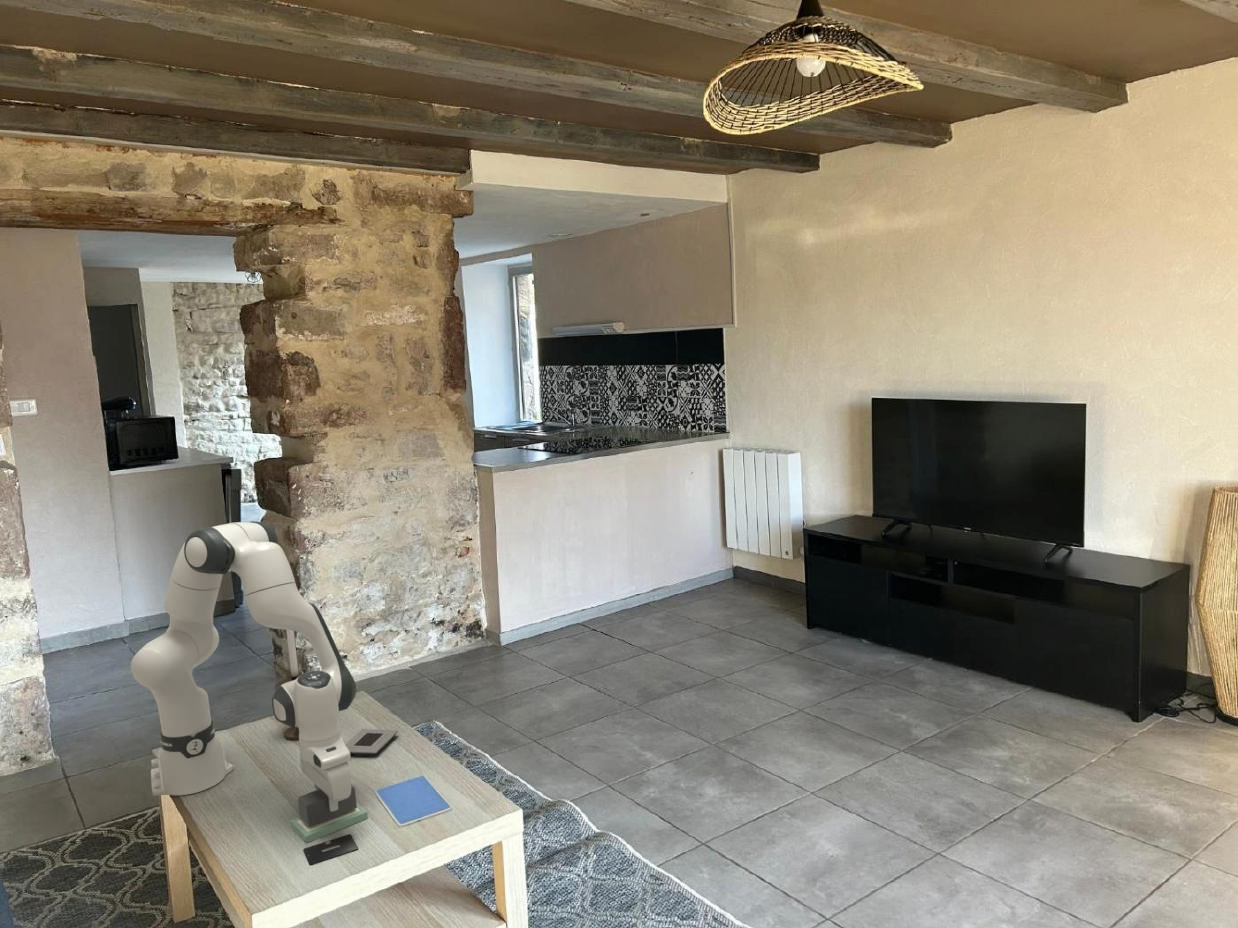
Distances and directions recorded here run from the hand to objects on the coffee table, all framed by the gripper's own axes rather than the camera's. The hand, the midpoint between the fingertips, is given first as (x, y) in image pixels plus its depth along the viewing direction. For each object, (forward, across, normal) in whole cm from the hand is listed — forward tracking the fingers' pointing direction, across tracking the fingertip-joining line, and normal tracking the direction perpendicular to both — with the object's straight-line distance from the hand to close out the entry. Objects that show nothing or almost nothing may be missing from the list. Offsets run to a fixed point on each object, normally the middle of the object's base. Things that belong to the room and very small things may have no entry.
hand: (327, 804), depth 199 cm
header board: (+4, 0, 0) cm, 4 cm away
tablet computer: (+5, +5, +18) cm, 19 cm away
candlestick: (+5, -52, +13) cm, 54 cm away
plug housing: (+2, 0, 0) cm, 2 cm away
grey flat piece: (+5, -30, +23) cm, 38 cm away
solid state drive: (+5, +11, -4) cm, 13 cm away
